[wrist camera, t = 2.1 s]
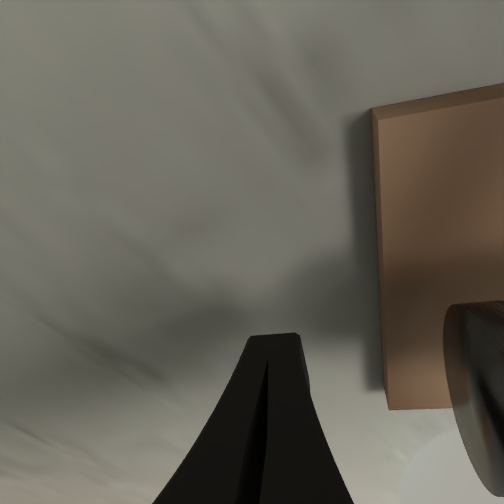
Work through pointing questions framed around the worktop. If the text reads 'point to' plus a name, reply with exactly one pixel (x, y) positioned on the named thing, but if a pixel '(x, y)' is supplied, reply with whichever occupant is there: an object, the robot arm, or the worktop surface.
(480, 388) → the shaft
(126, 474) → the worktop surface
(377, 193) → the base board
